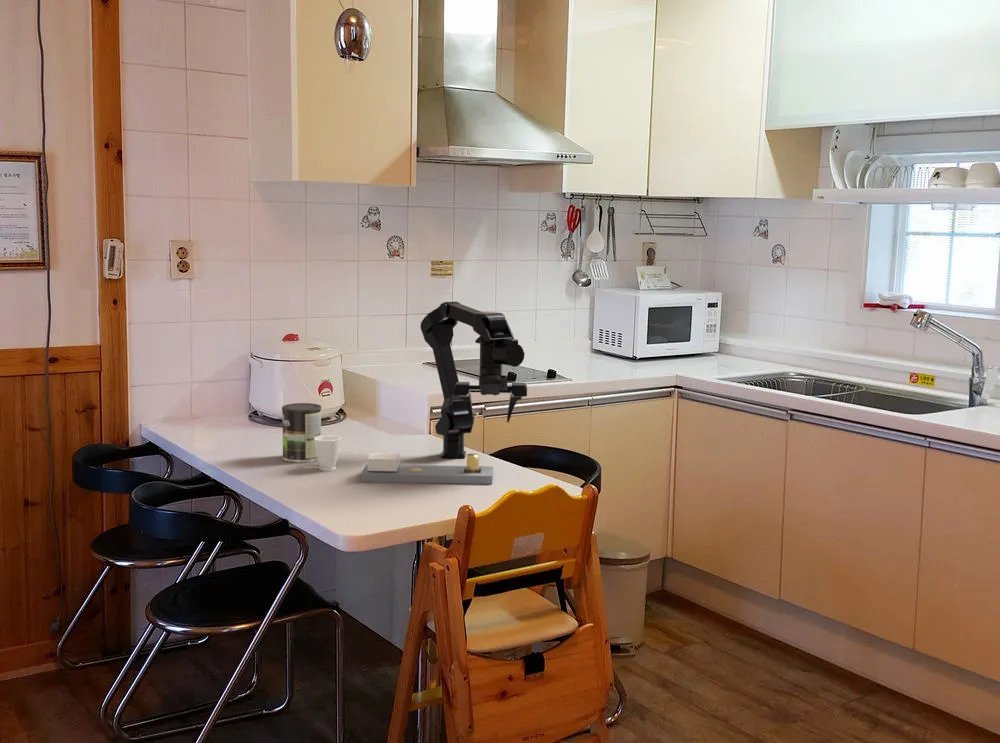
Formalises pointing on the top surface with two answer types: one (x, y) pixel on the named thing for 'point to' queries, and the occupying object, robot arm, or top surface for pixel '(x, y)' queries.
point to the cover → (383, 462)
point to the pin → (472, 463)
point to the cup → (327, 451)
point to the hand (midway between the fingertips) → (490, 422)
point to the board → (430, 475)
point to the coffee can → (300, 431)
